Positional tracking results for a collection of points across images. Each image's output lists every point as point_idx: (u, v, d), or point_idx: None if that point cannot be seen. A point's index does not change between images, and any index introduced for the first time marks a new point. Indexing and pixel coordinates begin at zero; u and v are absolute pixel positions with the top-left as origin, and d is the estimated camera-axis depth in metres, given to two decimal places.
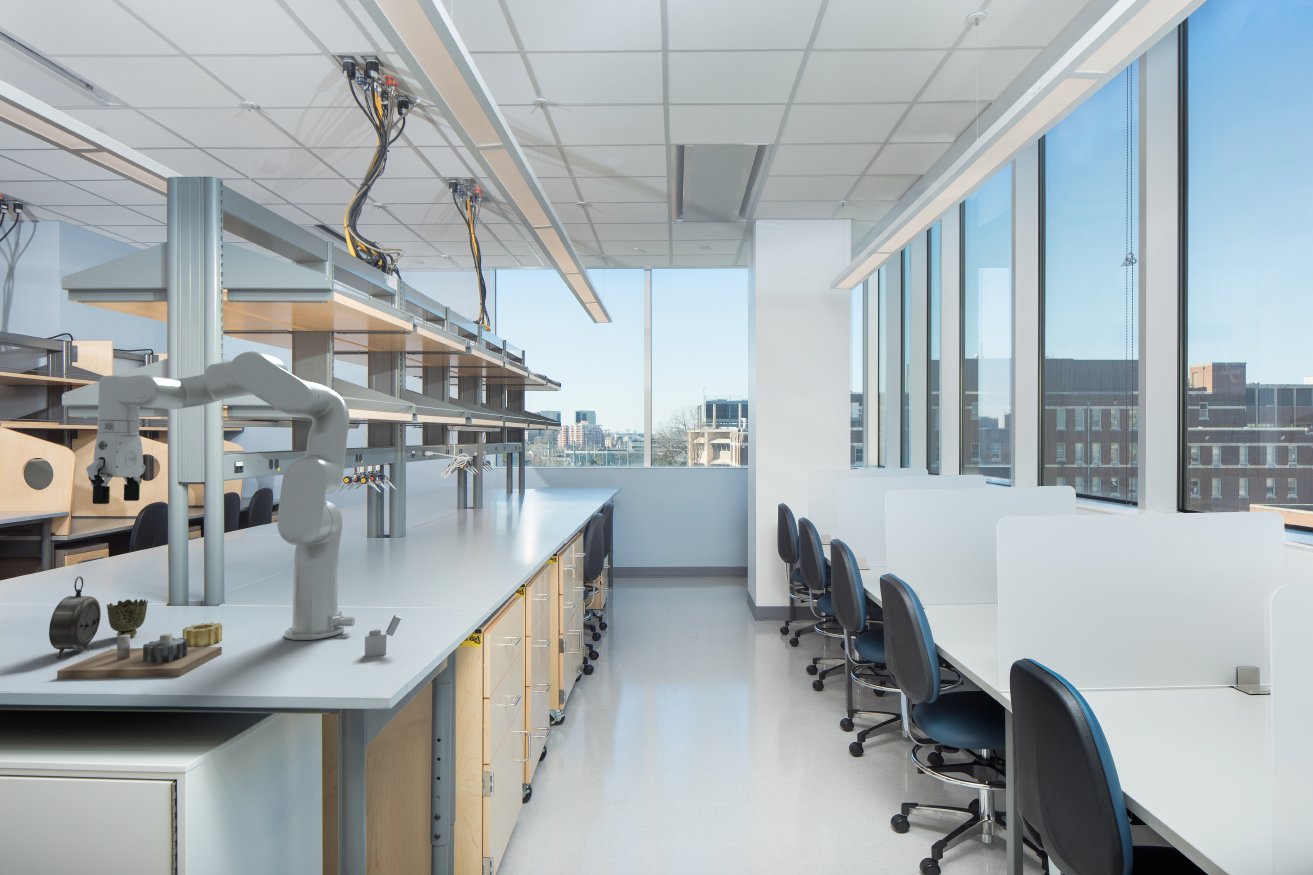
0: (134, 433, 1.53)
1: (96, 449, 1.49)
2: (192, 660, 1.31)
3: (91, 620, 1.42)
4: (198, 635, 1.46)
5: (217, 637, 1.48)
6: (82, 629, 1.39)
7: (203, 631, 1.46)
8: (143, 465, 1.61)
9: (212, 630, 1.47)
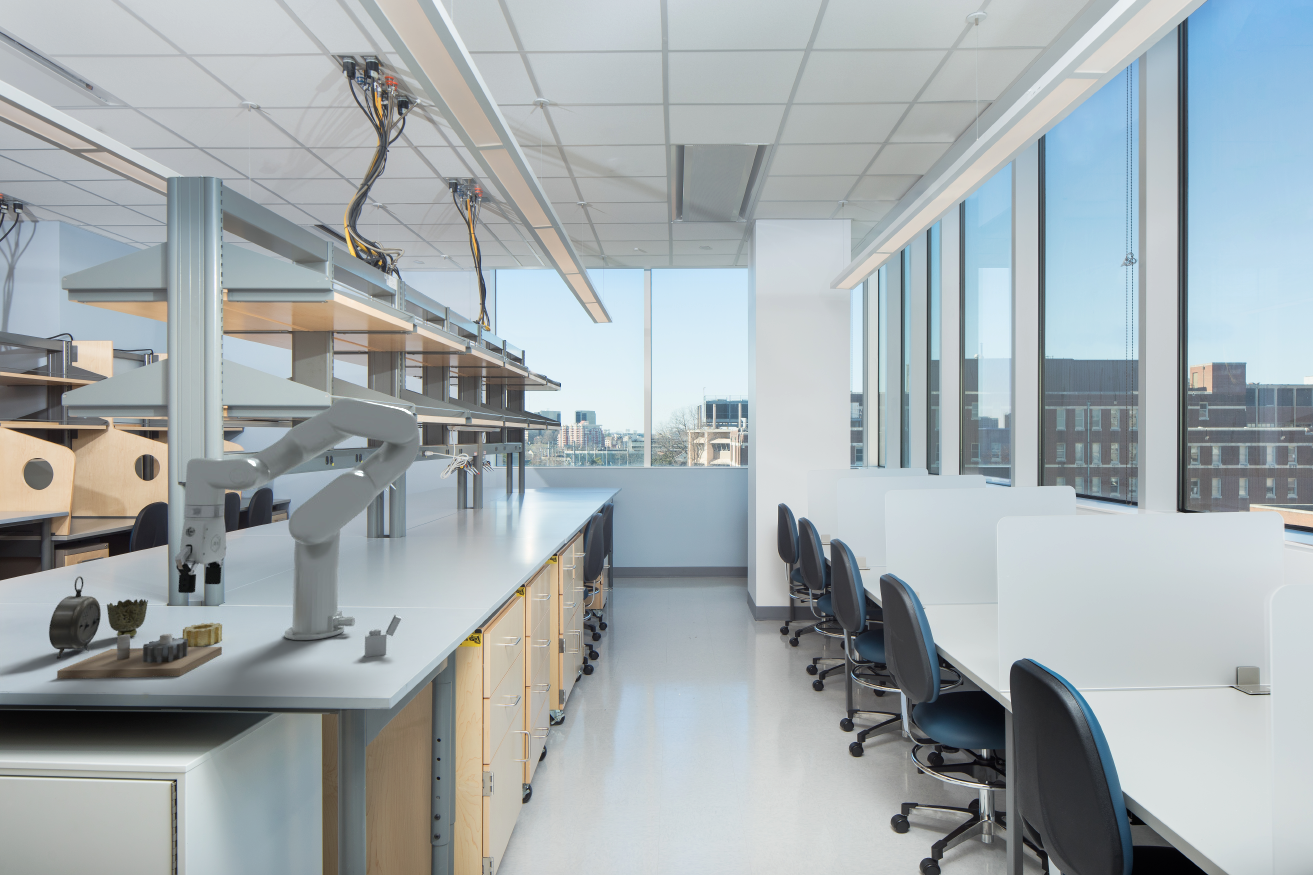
0: (220, 517, 1.49)
1: (183, 536, 1.44)
2: (192, 660, 1.31)
3: (91, 620, 1.42)
4: (198, 635, 1.46)
5: (217, 637, 1.48)
6: (82, 629, 1.39)
7: (203, 631, 1.46)
8: None
9: (212, 630, 1.47)
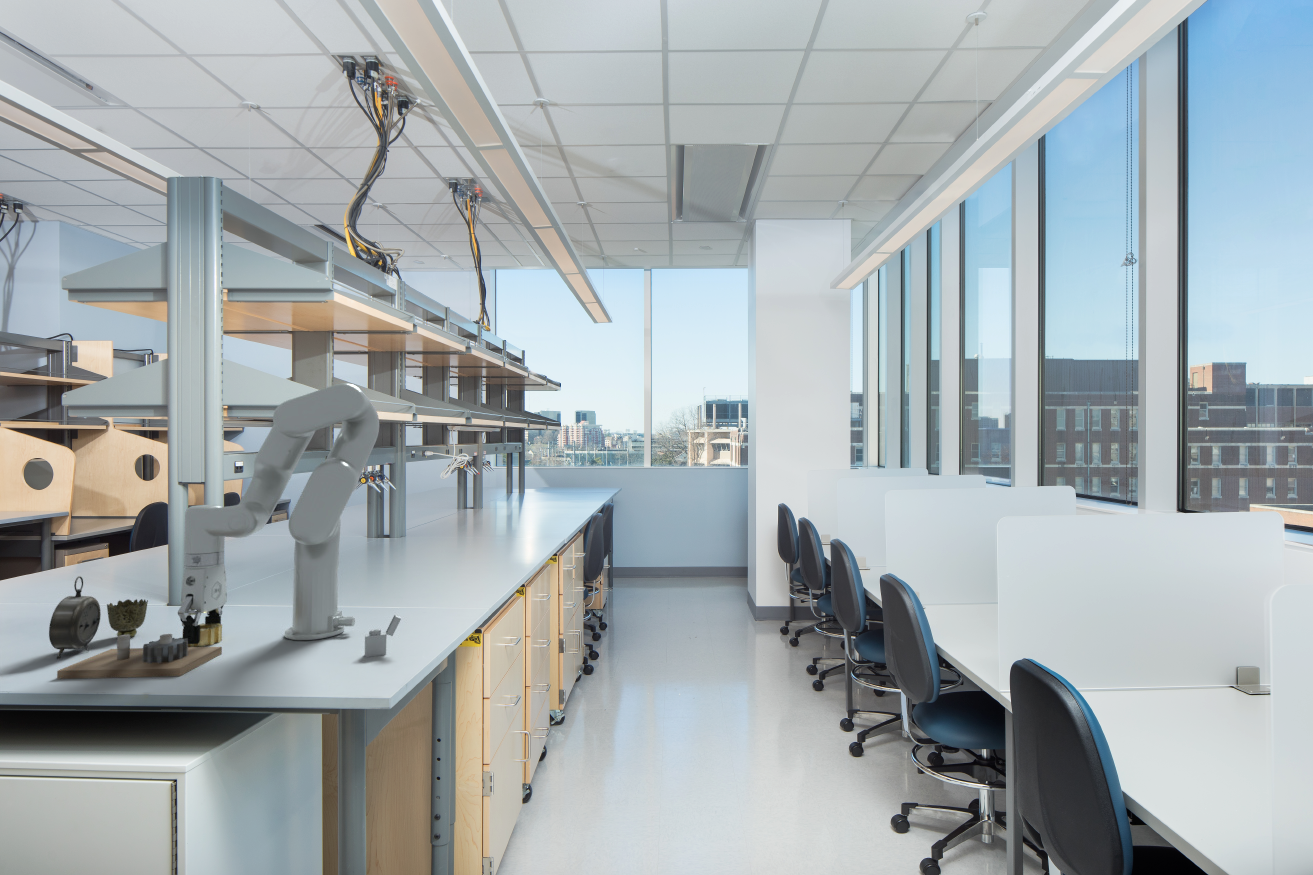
0: (220, 564, 1.49)
1: (184, 585, 1.44)
2: (192, 660, 1.31)
3: (91, 620, 1.42)
4: None
5: (217, 637, 1.48)
6: (82, 629, 1.39)
7: (203, 631, 1.46)
8: None
9: (212, 630, 1.47)
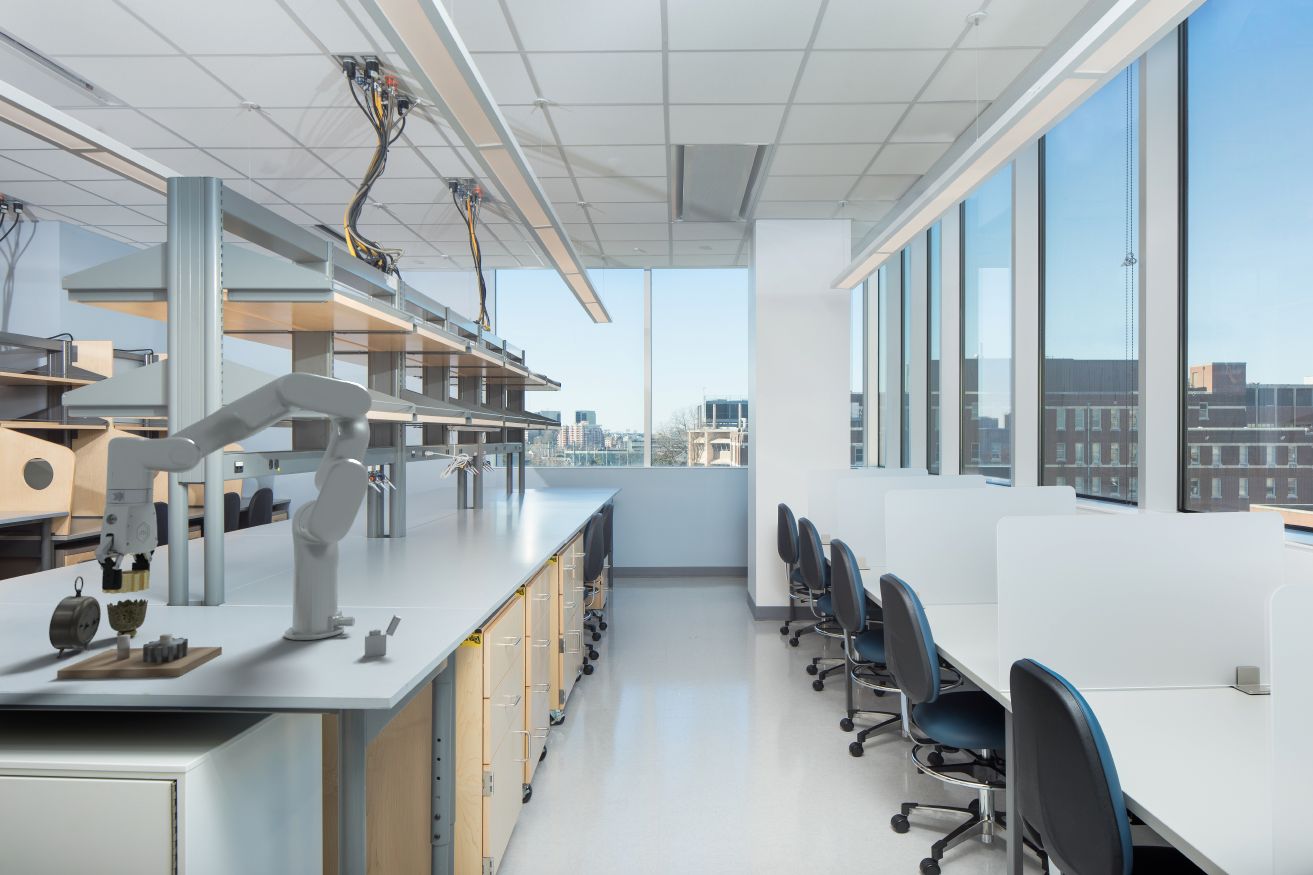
0: (147, 503, 1.33)
1: (104, 524, 1.28)
2: (192, 660, 1.31)
3: (91, 620, 1.42)
4: None
5: (142, 584, 1.33)
6: (82, 629, 1.39)
7: (125, 576, 1.30)
8: None
9: (136, 576, 1.31)
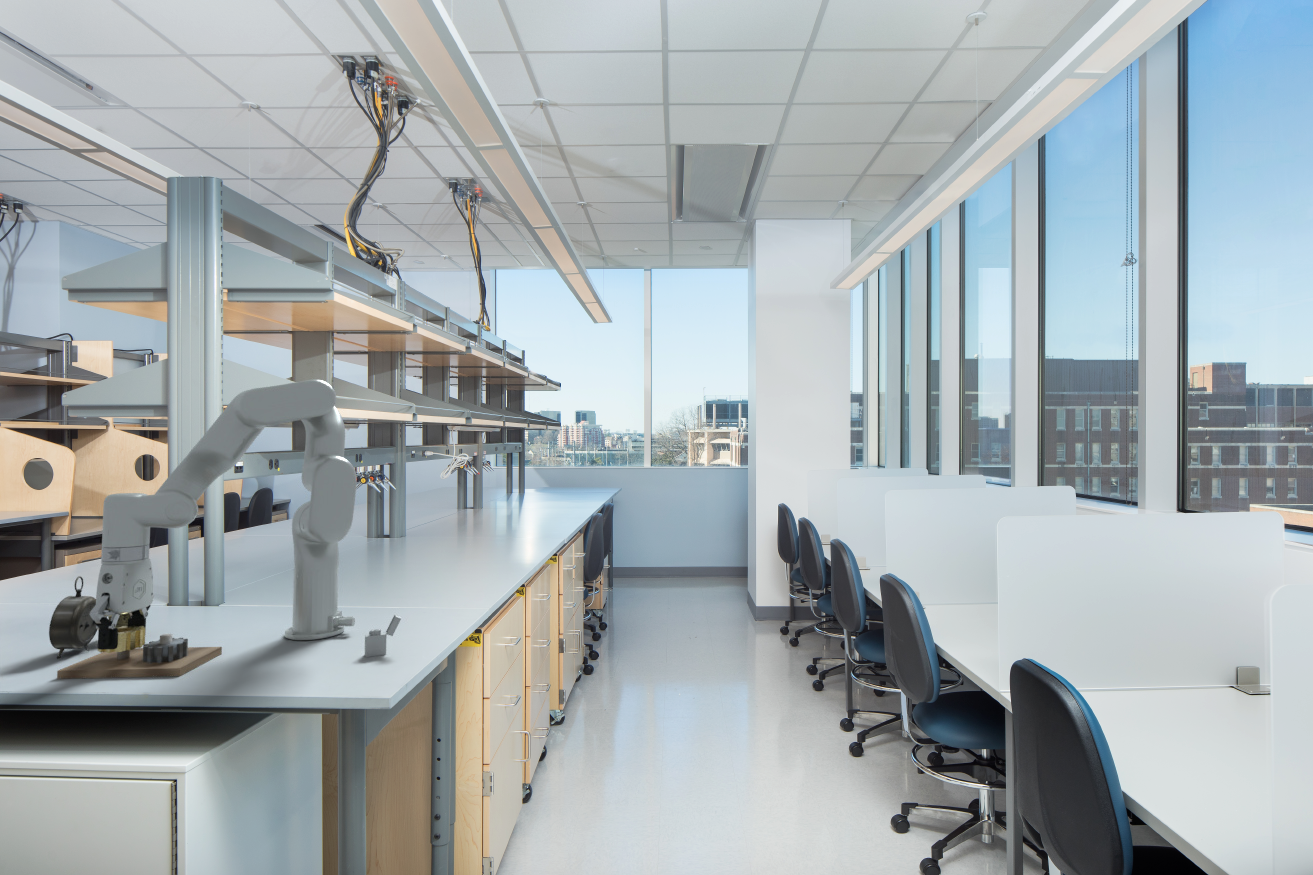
0: (143, 559, 1.32)
1: (99, 583, 1.28)
2: (192, 660, 1.31)
3: (91, 620, 1.42)
4: None
5: (138, 642, 1.32)
6: (82, 629, 1.39)
7: (121, 635, 1.29)
8: None
9: (132, 634, 1.30)
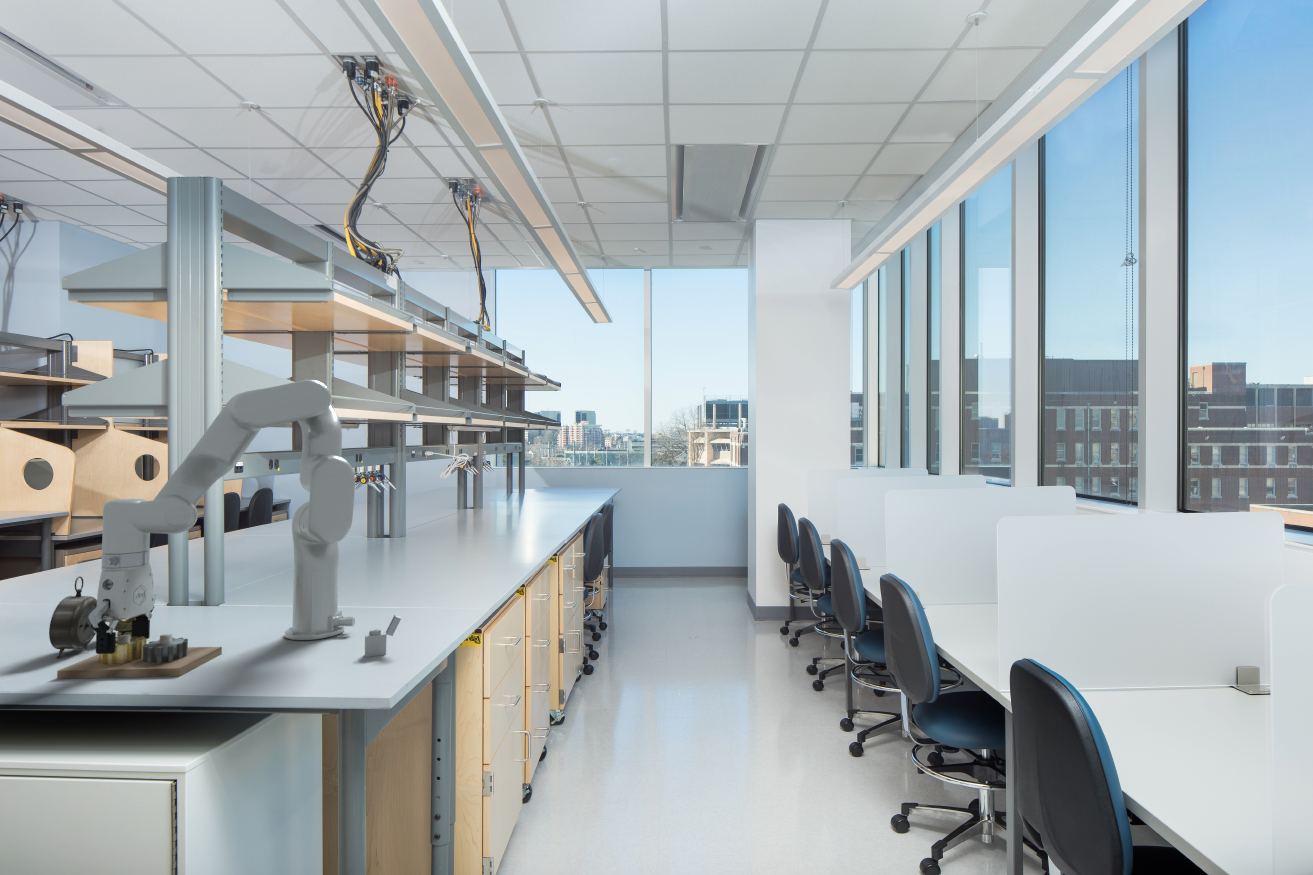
0: (144, 565, 1.32)
1: (100, 589, 1.28)
2: (192, 660, 1.31)
3: None
4: (117, 650, 1.29)
5: (140, 652, 1.32)
6: (82, 629, 1.39)
7: (122, 646, 1.29)
8: (154, 595, 1.40)
9: (133, 645, 1.31)
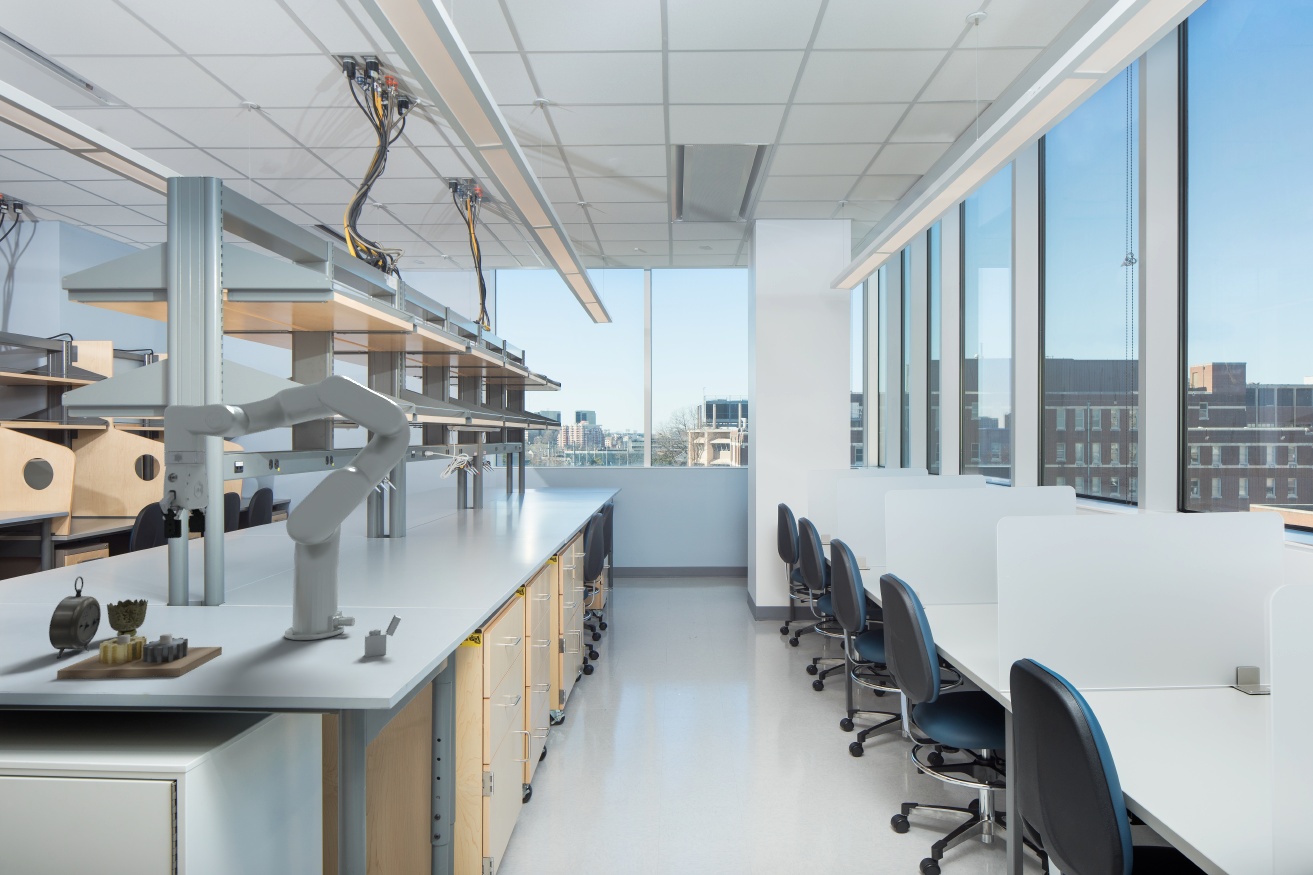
0: (201, 463, 1.49)
1: (166, 482, 1.44)
2: (192, 660, 1.31)
3: (91, 620, 1.42)
4: (117, 650, 1.29)
5: (140, 652, 1.32)
6: (82, 629, 1.39)
7: (122, 646, 1.29)
8: None
9: (133, 645, 1.31)
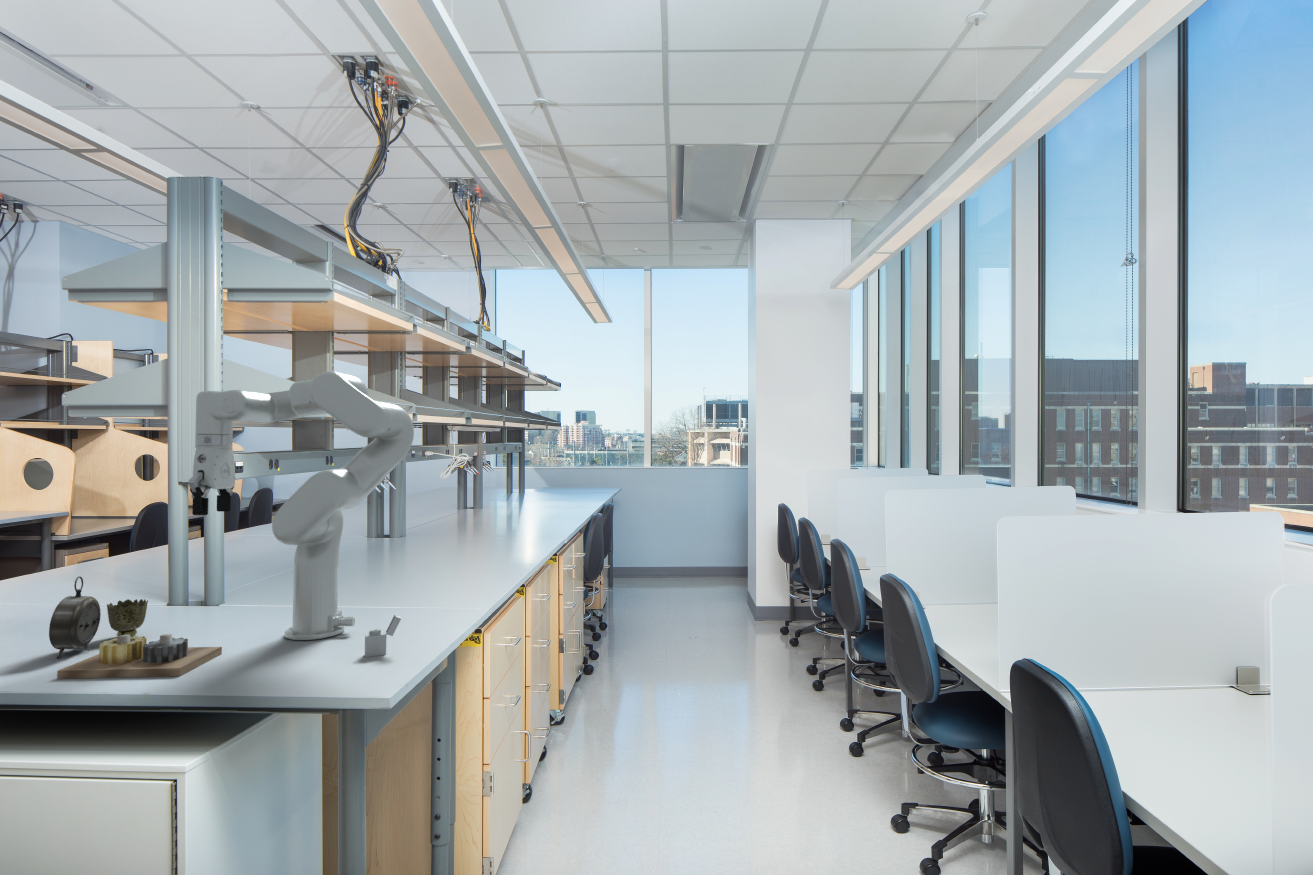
0: (229, 446, 1.59)
1: (195, 462, 1.54)
2: (192, 660, 1.31)
3: (91, 620, 1.42)
4: (117, 650, 1.29)
5: (140, 652, 1.32)
6: (82, 629, 1.39)
7: (122, 646, 1.29)
8: None
9: (133, 645, 1.31)
